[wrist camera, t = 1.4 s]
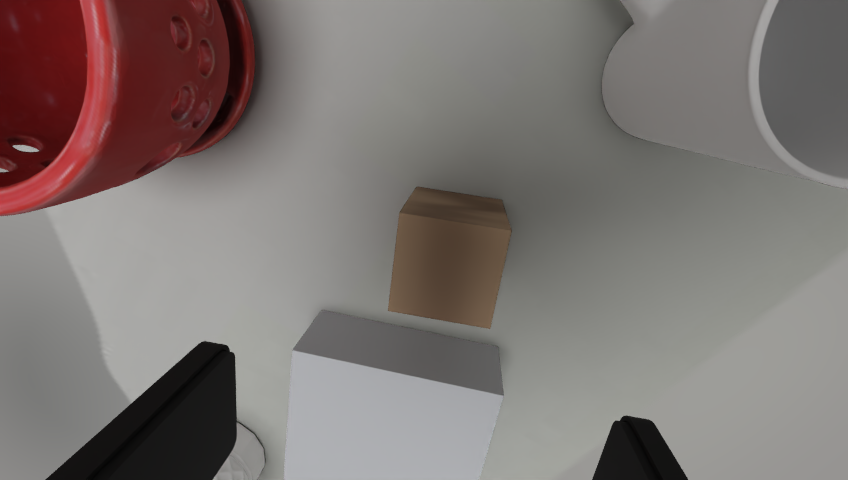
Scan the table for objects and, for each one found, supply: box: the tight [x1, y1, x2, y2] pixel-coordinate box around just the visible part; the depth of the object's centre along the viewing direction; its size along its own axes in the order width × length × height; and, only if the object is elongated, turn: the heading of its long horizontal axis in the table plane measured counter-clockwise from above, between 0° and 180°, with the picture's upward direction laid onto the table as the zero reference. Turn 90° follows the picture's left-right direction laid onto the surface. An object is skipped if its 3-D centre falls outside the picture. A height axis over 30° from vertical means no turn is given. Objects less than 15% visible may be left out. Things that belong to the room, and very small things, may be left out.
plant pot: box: [0, 0, 255, 216], centre depth 17 cm, size 13×13×12 cm
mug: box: [602, 0, 848, 189], centre depth 14 cm, size 10×7×12 cm, turn 44°
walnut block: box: [388, 187, 512, 329], centre depth 21 cm, size 5×5×6 cm
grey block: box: [284, 310, 504, 480], centre depth 26 cm, size 12×12×5 cm
